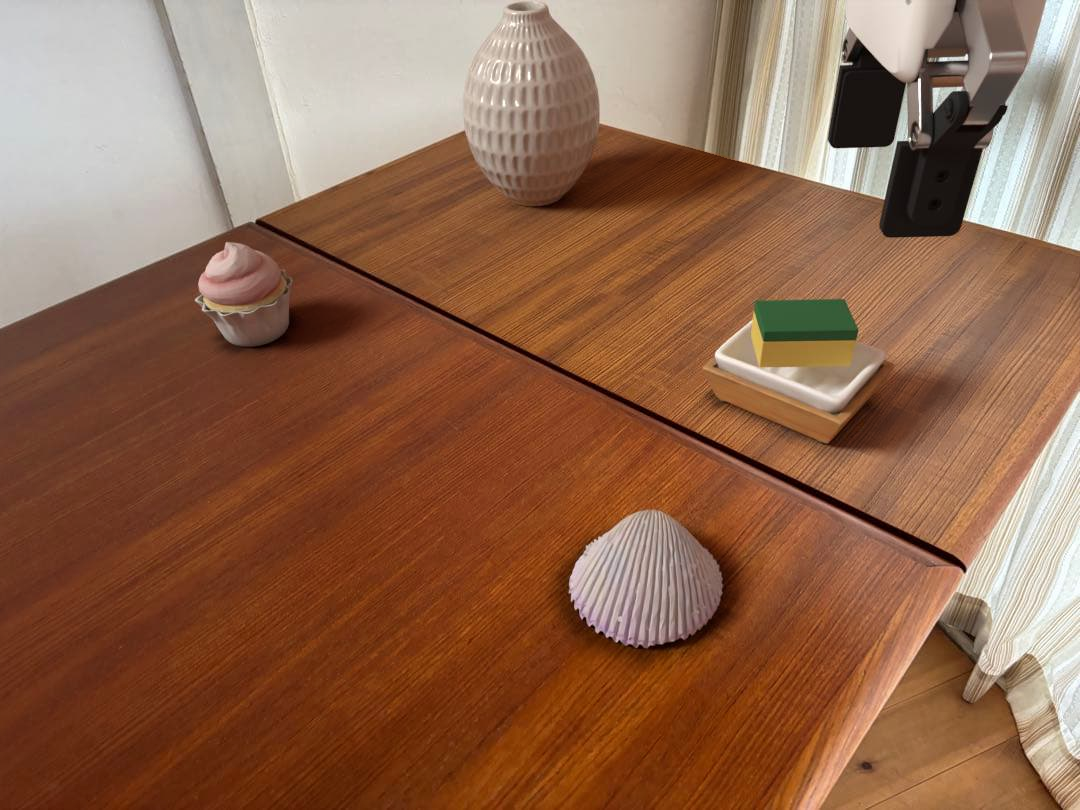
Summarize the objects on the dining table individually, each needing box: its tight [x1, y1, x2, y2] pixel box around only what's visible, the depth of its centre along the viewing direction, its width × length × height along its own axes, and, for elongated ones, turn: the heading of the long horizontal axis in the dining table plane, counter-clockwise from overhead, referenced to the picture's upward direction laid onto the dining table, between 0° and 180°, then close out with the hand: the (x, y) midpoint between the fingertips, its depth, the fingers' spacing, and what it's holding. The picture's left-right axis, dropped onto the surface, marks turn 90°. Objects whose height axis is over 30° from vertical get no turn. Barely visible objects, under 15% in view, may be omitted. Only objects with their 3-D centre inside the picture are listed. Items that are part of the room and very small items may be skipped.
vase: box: [462, 0, 601, 207], centre depth 100 cm, size 16×16×22 cm
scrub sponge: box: [751, 298, 859, 367], centre depth 68 cm, size 7×5×4 cm, turn 88°
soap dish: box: [702, 319, 896, 444], centre depth 71 cm, size 12×10×5 cm
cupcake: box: [194, 241, 293, 348], centre depth 82 cm, size 9×9×10 cm
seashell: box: [568, 509, 724, 649], centre depth 57 cm, size 10×6×10 cm
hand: (885, 185), depth 40 cm, fingers open, 9 cm apart
